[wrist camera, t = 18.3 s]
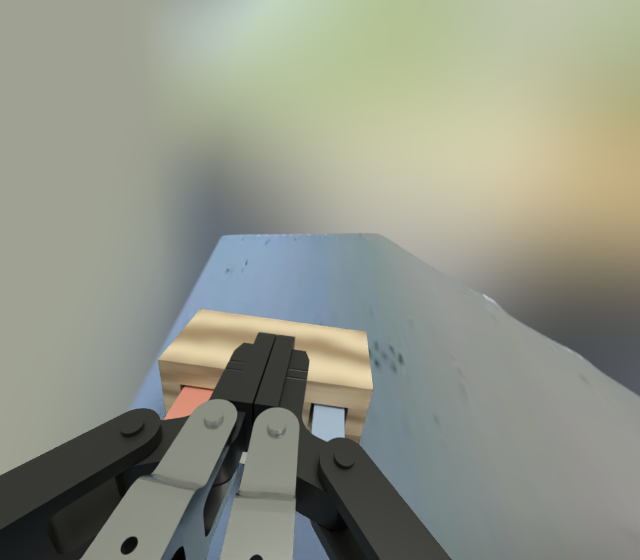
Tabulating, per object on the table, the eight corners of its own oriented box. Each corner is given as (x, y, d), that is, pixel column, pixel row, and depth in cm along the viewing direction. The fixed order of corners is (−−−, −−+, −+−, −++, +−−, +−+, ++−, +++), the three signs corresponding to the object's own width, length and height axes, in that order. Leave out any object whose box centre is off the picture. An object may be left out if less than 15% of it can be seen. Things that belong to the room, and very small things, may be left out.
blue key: (339, 477, 28) (344, 455, 27) (306, 472, 28) (309, 450, 27) (340, 389, 38) (344, 370, 37) (315, 386, 38) (318, 366, 37)
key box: (350, 475, 36) (373, 389, 30) (171, 449, 36) (157, 359, 30) (349, 407, 45) (366, 331, 39) (205, 387, 45) (200, 308, 39)
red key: (193, 457, 28) (191, 434, 27) (160, 452, 28) (156, 429, 27) (232, 375, 38) (232, 355, 37) (207, 371, 38) (206, 351, 37)
